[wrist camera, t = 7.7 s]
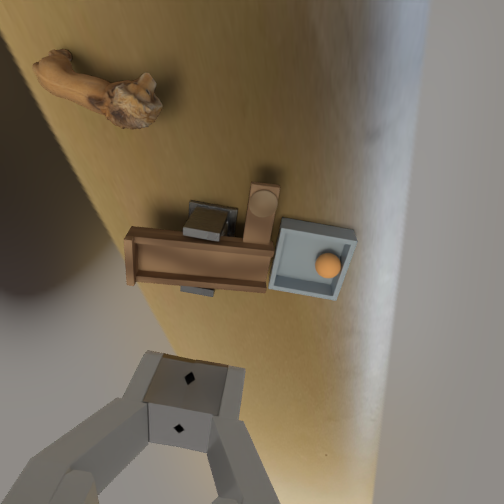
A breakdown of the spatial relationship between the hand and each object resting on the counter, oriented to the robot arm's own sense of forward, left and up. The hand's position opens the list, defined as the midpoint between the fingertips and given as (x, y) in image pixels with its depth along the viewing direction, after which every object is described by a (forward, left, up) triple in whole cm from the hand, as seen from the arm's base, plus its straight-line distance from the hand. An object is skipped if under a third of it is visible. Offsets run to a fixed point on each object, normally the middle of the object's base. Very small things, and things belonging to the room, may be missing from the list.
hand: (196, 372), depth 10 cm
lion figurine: (-3, -17, -31) cm, 36 cm away
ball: (+13, +10, -29) cm, 33 cm away
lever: (+10, -5, -26) cm, 28 cm away
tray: (+13, +8, -31) cm, 35 cm away
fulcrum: (+13, -5, -31) cm, 34 cm away
